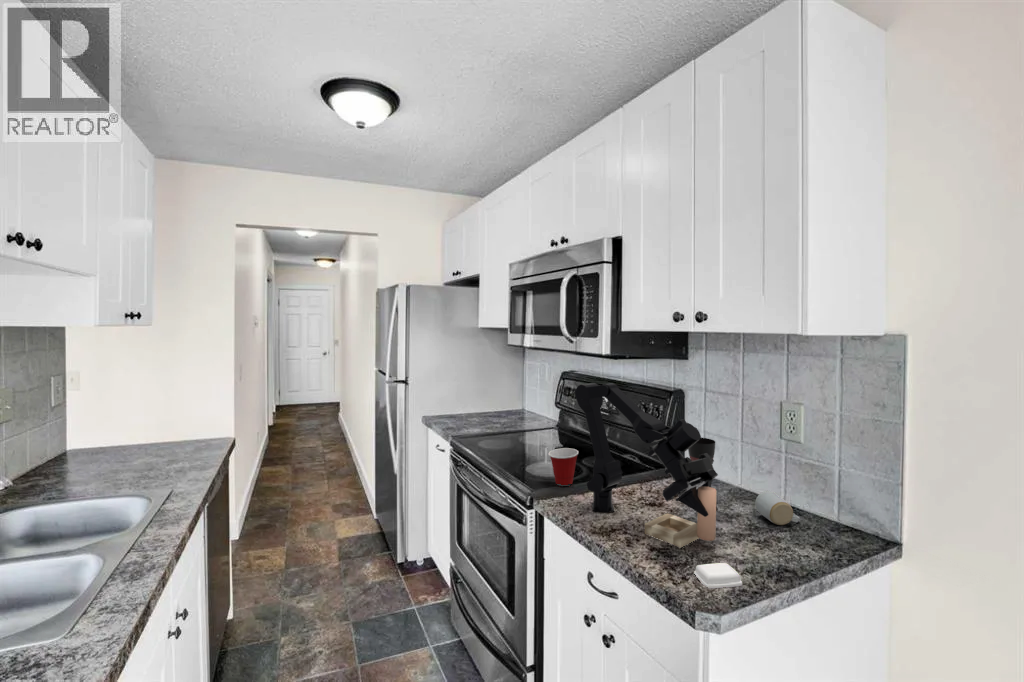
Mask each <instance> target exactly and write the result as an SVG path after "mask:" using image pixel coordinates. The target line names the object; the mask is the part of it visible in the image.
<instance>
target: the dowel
mask: <svg viewBox="0 0 1024 682" xmlns="http://www.w3.org/2000/svg"><path fill="white" fill-rule="evenodd" d="M698 498H699V499H700V501H701V502H702V504H703V506H704V507H705V509H706V511H707V513H708V516H706V517H704V516H703V515H701V514H700V513H698V512H697V517H696V518H697V519H696V520H697V522H696V523H697V537H698V538H700V539H699V540H703V541H708V542H713V541H715V540H716V531H717V529H716V527H717V526H716V524H717V511H716V506H717V489H716V488H714V487H712V486H711V487H706V486H702V487H698Z"/></svg>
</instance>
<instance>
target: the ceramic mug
mask: <svg viewBox="0 0 1024 682" xmlns="http://www.w3.org/2000/svg"><path fill="white" fill-rule="evenodd" d="M754 505H755V510H756V511H757V512H758V513H759V514H760V515H762V516H763V517H764V518H765V519H767V520H768V521H770V522H771V523H773V524H775V525H778V526H785V525H788V523H790V522H791V521H792V522H794V523H799V521H800V516H798V515H797V514H795V513H794V510H793V508H792V505H790V503H788V502H787V501H786V500H785V499H784V498H782V496H779V494H777V493H776V492H775V491H772V490H764V491H762V492H760V493H759V494H758V495H757V497H756V498H755V502H754Z"/></svg>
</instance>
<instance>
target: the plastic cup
mask: <svg viewBox="0 0 1024 682" xmlns="http://www.w3.org/2000/svg"><path fill="white" fill-rule="evenodd" d="M578 455H579V450H577V449H575V448H569V447H562V448H561V447H559V448H556V449H552V450H550V451H549V452H548V456H549V458H550V461H551V466H552V471H553V476H554V481H555V485H556V484H561V485H568V484H572V485H573V482H574V475H575V470H576V464H577V460H578V459H577V458H578Z"/></svg>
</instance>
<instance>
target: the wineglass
mask: <svg viewBox="0 0 1024 682" xmlns="http://www.w3.org/2000/svg"><path fill="white" fill-rule="evenodd" d="M687 451H688V457H689V458H690V459H691V460H692V461H694V460H697V459H699V455H702V454H705V453H707V454H708V455H709V456H711V458H712V459H713V460H714V458H715V451H716V441H715V440H714V439H711V438H708V437H701V438H700V440H698V441H697V442H696V443H695V444H694V445H692V446H691V447H690V448H689V449H688V450H687Z"/></svg>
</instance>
